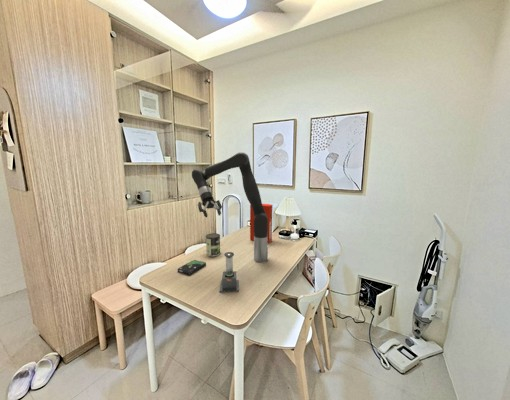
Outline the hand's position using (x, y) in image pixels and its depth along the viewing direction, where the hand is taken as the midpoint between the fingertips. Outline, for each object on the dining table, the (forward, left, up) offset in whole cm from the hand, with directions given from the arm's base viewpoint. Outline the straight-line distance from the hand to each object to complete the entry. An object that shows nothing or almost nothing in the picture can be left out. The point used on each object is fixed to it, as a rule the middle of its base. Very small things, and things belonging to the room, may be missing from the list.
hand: (213, 215), depth 129 cm
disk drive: (+14, -1, -35) cm, 38 cm away
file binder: (-34, -48, -35) cm, 69 cm away
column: (-10, +21, -29) cm, 37 cm away
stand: (-10, +21, -35) cm, 42 cm away
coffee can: (+4, -23, -35) cm, 42 cm away
